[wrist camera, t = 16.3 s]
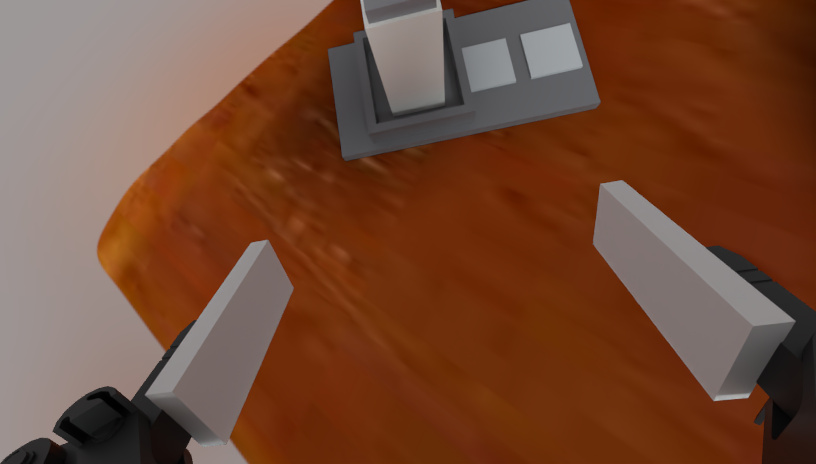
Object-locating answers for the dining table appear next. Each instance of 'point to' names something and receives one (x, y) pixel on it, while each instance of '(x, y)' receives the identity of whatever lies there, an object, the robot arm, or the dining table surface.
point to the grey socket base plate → (470, 79)
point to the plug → (407, 51)
